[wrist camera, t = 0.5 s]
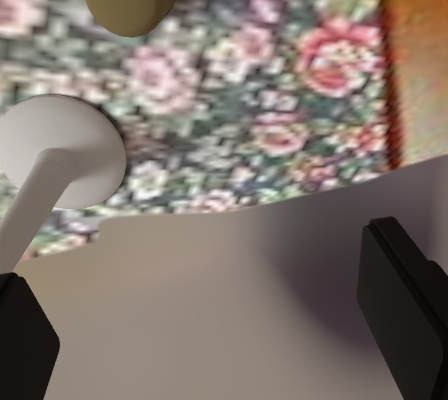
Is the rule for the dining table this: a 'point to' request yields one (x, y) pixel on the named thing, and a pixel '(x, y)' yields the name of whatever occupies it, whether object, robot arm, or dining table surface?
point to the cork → (129, 15)
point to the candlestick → (54, 165)
